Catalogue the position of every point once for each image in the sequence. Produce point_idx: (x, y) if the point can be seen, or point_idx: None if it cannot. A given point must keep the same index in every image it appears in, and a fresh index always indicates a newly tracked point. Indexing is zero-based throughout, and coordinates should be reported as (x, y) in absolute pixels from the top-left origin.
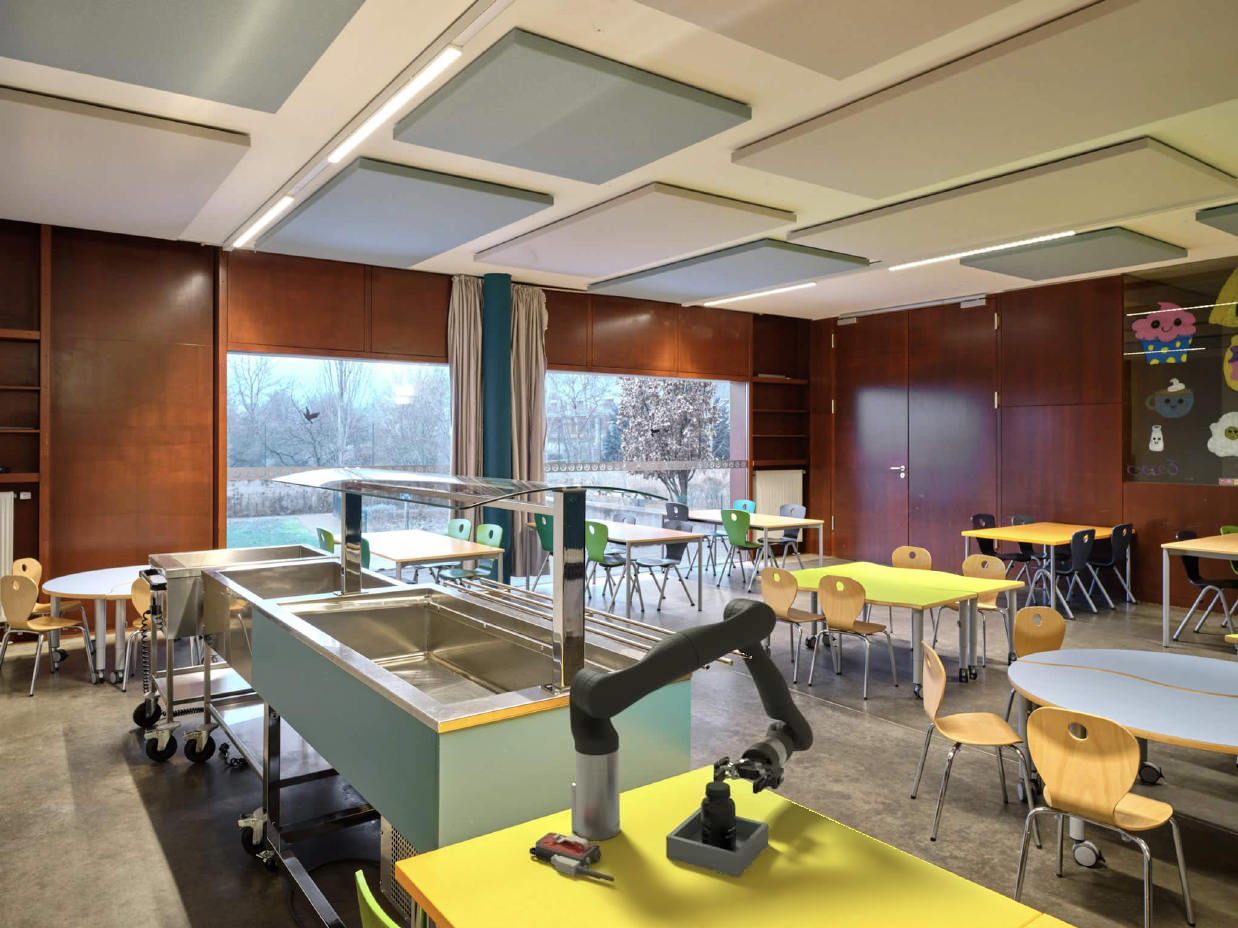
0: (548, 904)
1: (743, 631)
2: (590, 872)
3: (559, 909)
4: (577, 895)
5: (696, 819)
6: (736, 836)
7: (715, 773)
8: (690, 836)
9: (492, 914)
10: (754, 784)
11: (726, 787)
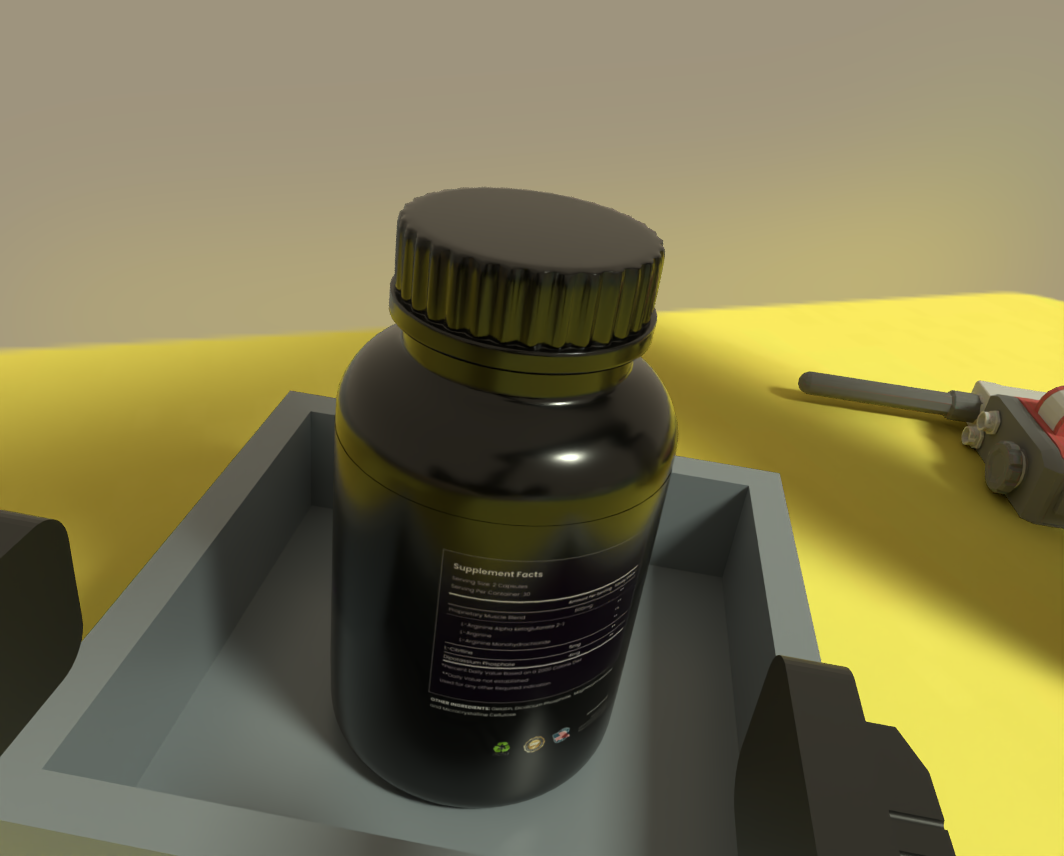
0: (885, 331)
1: None
2: (906, 386)
3: (838, 322)
4: (853, 359)
5: None
6: None
7: (921, 812)
8: None
9: (962, 302)
10: (31, 515)
11: (432, 206)
